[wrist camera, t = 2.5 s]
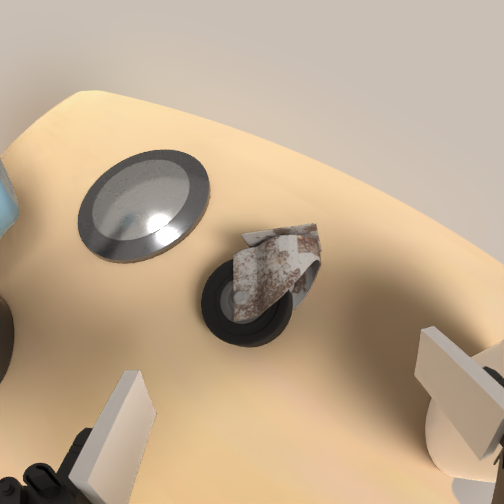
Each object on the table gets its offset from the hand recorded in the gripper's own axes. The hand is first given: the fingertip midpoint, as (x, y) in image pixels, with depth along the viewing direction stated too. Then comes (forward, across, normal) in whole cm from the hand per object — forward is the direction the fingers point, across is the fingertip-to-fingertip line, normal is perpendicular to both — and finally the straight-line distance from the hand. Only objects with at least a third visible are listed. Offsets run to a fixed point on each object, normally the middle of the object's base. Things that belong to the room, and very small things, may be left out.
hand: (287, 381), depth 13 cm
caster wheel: (+18, 0, -4) cm, 18 cm away
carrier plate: (+29, -15, +8) cm, 33 cm away
